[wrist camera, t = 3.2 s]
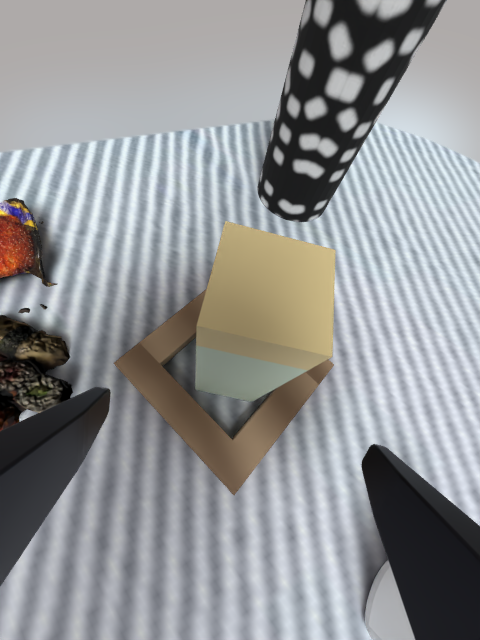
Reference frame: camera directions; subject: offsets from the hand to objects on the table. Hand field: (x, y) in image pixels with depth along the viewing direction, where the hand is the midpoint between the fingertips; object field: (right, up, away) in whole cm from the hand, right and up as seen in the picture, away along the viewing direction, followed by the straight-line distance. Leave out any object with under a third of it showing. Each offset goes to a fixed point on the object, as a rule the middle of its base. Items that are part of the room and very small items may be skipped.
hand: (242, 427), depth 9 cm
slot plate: (-1, 0, +12) cm, 12 cm away
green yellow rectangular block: (-1, 0, +12) cm, 12 cm away
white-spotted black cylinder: (+6, +18, +22) cm, 29 cm away
